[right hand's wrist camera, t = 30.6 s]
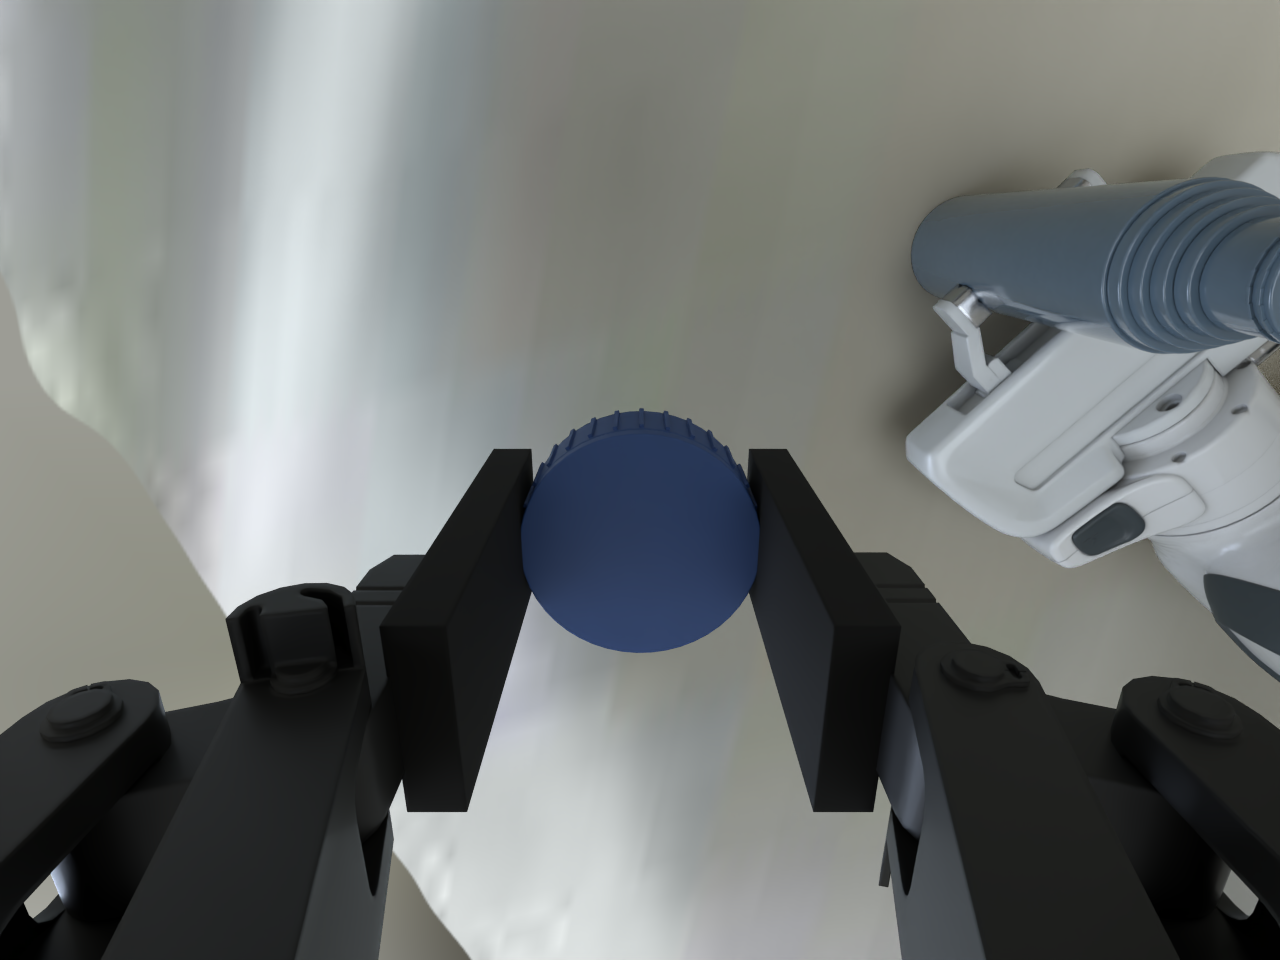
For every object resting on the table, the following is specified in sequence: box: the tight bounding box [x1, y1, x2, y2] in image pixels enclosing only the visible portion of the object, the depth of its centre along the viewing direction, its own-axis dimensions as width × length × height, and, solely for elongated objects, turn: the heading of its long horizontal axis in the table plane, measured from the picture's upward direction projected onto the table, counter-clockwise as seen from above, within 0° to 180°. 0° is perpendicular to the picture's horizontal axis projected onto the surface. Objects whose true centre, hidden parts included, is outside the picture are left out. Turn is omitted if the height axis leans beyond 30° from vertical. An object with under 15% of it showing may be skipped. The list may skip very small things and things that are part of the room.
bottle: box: [911, 177, 1280, 354], centre depth 28 cm, size 6×6×22 cm
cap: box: [521, 408, 760, 653], centre depth 13 cm, size 5×5×2 cm
